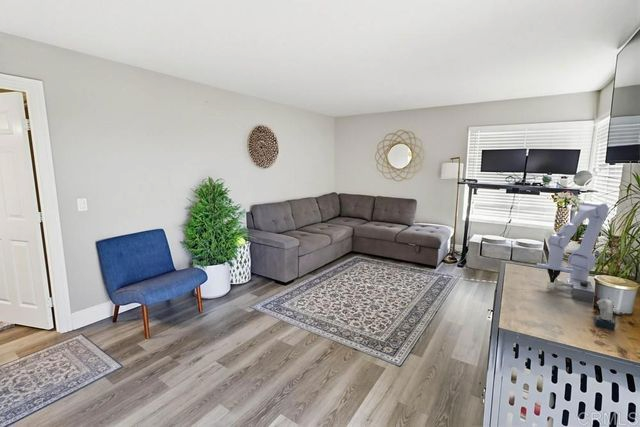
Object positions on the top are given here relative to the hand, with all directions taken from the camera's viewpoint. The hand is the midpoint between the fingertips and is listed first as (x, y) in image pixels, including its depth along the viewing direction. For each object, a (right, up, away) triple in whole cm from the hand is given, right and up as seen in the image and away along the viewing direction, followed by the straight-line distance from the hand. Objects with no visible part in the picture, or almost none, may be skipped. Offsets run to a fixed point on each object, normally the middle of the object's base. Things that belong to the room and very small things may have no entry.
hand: (551, 283), depth 161 cm
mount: (+7, -4, -9) cm, 12 cm away
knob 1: (-1, -2, -8) cm, 8 cm away
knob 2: (+6, -2, -4) cm, 7 cm away
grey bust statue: (-7, -9, -37) cm, 38 cm away
